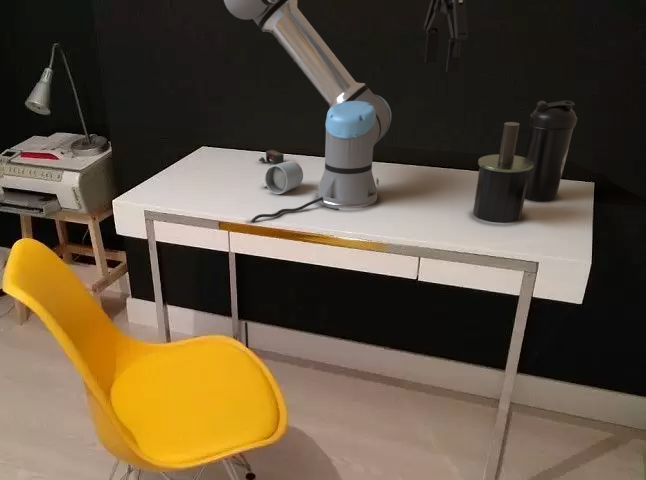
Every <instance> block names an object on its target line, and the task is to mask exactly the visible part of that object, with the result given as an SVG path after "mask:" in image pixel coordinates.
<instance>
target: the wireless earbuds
mask: <svg viewBox="0 0 646 480" xmlns="http://www.w3.org/2000/svg"><path fill="white" fill-rule="evenodd" d="M284 155H285V154H284V153H282V152H279V151H277V150H274V149H270V150H266V151H265V158H264V157H263V156H261V157H260V158H259V159H258V162H261V163H265V162H267V163H268V164H270V165H276V164H280V163H284V162H285V161H284V159H285V158H284V157H285V156H284Z"/></svg>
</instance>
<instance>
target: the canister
mask: <svg viewBox="0 0 646 480" xmlns="http://www.w3.org/2000/svg"><path fill="white" fill-rule="evenodd" d="M529 172H530V170H527V171H522V172H498V171H492V170H488V169H485V168H483V167H481V166H479V168H478V175H477V181H476V190H475V195H474V202H473V209H472V210H473V211H472V214H473V216H474V217H476V218H477V219H479V220H482V221H484V222H490V223H496V224H508V223H514V222H517V221H519V220H520V219H522V216H523V209H524V204H525V200H526V199H525V194H526V189H527V183H528V178H529Z"/></svg>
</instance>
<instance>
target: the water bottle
mask: <svg viewBox="0 0 646 480" xmlns="http://www.w3.org/2000/svg"><path fill="white" fill-rule="evenodd" d="M575 105H576V104H575V103H574V102H573V100H560V101H559V100H558V101H553V102H546V101H544V100H539V101H538V102H537V103H536V107H535V109H534V111H532V113H531V114H530V116H529V121H528V123H529V124H528V125H529V132H528V138H527V144H526V151H525V156H524V158H527V159H530V160H531V161H533V163H534V165H533V168H532V169H530V172H529V178H528V183H527V189H526V194H525V199H524V200H527V201H531V202H536V203H537V202H538V203H547V202H553V201H556V199H557V196H558V192H559V188H560V184H561V180H562V176H563V172H564V169H565V164H566V160H567V156H568V152H569V148H570V143H571V139H572V134H573V130H574V129H575V127H576V125H577V121H578V117H577V116H576V112H575V111H574V110H573V107H575Z"/></svg>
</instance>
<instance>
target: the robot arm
mask: <svg viewBox="0 0 646 480" xmlns="http://www.w3.org/2000/svg"><path fill="white" fill-rule="evenodd" d="M223 3H224V6H225V7H226V10H228V12H229V13H230V14H231V15H232V16H234V17H235V18H238V19H239V20H245V21H247V20H253V21H254V22H255V24H256V25H257V26H258V28H259V29H260V30H261V31H262V32H267V33H270V34H272V35H273V37H275V39H276V40H277V41H278V43H279V44H280V45H281V46H282V47H283V49H284V50H285V52H286V53H287V54H288V55H289V56H290V58H291V59H292V60H293V62H294V63H295V64H296V65H297V66H298V68H299V69H300V71H302V73H303V74H304V75H305V77H306V78H307V79H308V80H309V82H310V83H311V84H312V85H313V86H314V88H315V89H316V90H317V92H318V93H319V94H320V95H321V96H322V98H323V99H324V100H325V102H326V103H327V104H328V106H329V109H328V111H327V114H326V119H325V124H324V125H325V148H324V149H325V150H324V151H325V152H324V171H323V174H322V177H321V180H320V182H319V185H318V188H317V191H316V199H314V200H311V201H308V202H306V203H304V204H302V205H301V206H299V207H295V208H282V209H280V210H278V211H277V212H275V213H261V214H257V215H255V216H254V217H253V218H252V219H251V220H250V223H251V224H253V223H255V222H256V220H258V219H261V218H275V217H277V216H279V215H280V214H283V213H288V212H289V213H291V212H292V213H293V212H299V211H301V210H304V209H306V208H307V207H310V206H311V205H314V204H316V203H318V205H321V206H322V207H325V208H328V209H333V210H340V209H343V210H351V209H352V210H353V209H361V208H366V207H370V206H371V205H373V204H375V203H376V202H377V200H378V190H377V187H376V184H377V186H379V184H380V182H379V181H380V180H379V178H378V177H376V180H375V178H374V175H373V158H374V146H375V145H376V144H377V143H378V142H379V141H381V139H383V138H384V137H385V136H386V135H387V133H388V130H389V129H390V127H391V123H392V110H391V107H390V105H389V103H388V102H387V101H386V99H384V98H383V96H380V95H378V94H374V93H373V92H372V91H371V89H370V88H369V86H367V84H366V83H364V82H357V81H356V80H355V79H354V78H353V77H352V75H351V74H350V73H349V71H348V70H347V69H346V68H345V66H344V65H343V64H342V62H341V61H340V60H339V59H338V58H337V56H336V55H335V54H334V52H333V51H332V50H331V48H329V46H328V45H327V44H326V42H325V41H324V39H323V38H322V37H321V35H320V34H319V33H318V32H317V30H315V28H314V27H313V26H312V25H311V23H310V22H309V21H308V19H307V18H306V17H305V16H304V15H303V13H302V11H301V10H300V9H299V8H298V0H223ZM445 17H446V18H447V24H448V29H449V35H450V38H449V39H448V49H447V58H446V66H445V73H448V74H450V73H459V72H460V71H459V69H460V62H461V53H462V45H463V42H465V41H467V40H468V38H469V31H468V17H467V0H430V2H429V7H428V10H427V14H426V17H425V21H424V24H423V30H425V33H426V41H425V50H424V51H425V52H424V63H425V64H430V63H431V64H432V63H437V57H438V47H439V39H440V33H441V29H440V27H441V25H442V22H443V21H444V18H445ZM375 181H376V182H375ZM244 337H245V339H244V340H245V348H246V347H247V348H248V349H249V348H250V347H249V327H248V321H245V322H244Z"/></svg>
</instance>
